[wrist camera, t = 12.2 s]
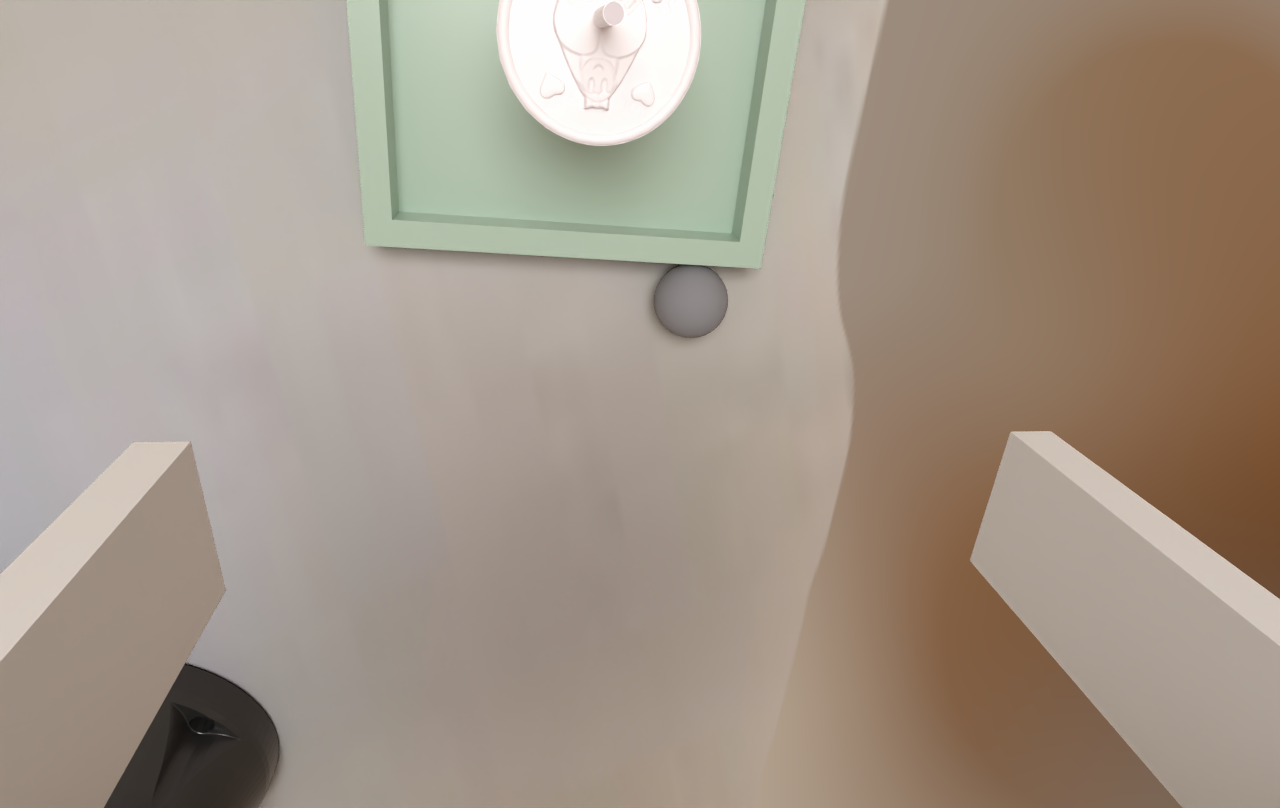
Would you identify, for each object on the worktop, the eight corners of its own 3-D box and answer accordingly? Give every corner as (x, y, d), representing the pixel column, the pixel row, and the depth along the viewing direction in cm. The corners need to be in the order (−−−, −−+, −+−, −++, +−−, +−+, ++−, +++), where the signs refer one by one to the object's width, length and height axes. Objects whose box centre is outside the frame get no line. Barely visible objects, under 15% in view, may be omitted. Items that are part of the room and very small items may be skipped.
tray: (377, 231, 34) (365, 245, 32) (342, -266, 26) (323, -294, 24) (747, 254, 37) (760, 268, 34) (818, -192, 29) (841, -212, 27)
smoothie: (667, -42, 30) (754, -100, 17) (653, 124, 33) (719, 177, 20) (508, -59, 29) (480, -132, 16) (508, 114, 32) (485, 162, 19)
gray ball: (646, 321, 38) (655, 347, 34) (653, 252, 36) (664, 273, 33) (714, 324, 38) (729, 350, 35) (724, 257, 37) (740, 278, 33)
